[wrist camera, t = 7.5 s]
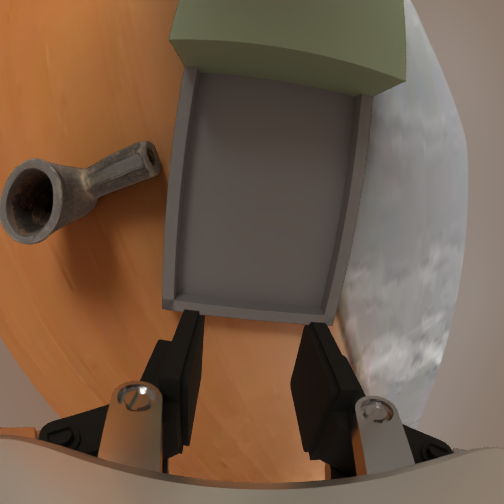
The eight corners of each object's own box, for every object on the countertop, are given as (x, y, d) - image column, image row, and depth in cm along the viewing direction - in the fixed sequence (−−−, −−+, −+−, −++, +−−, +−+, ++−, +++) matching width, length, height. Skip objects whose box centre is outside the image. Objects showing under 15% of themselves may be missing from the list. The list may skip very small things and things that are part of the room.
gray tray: (205, 3, 19) (194, -46, 12) (365, 30, 20) (402, -6, 12) (168, 296, 27) (144, 343, 19) (325, 313, 28) (351, 361, 20)
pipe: (171, 188, 24) (140, 198, 16) (59, 234, 25) (10, 257, 17) (151, 123, 22) (113, 106, 15) (42, 177, 23) (-11, 186, 15)
